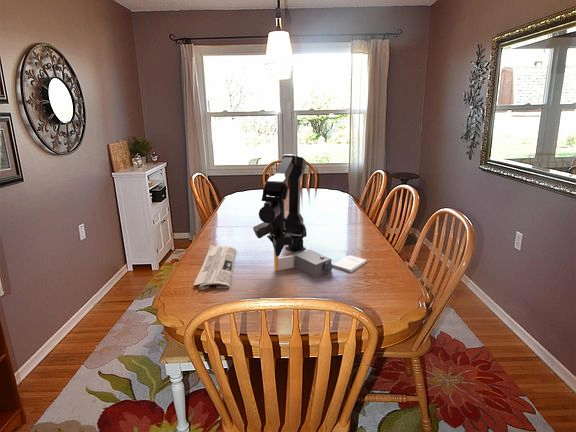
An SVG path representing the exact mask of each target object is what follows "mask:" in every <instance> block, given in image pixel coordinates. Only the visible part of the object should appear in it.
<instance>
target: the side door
mask: <svg viewBox="0 0 576 432" xmlns="http://www.w3.org/2000/svg"><path fill="white" fill-rule="evenodd" d="M273 259H274V265H273V266H274V267H273V268H274V271H275V272H279V271H283V270H287V269H288V270H289V269H294V268H296V267H295V254H292V255H286V256H281V257H280V256H276V254H275V250H274V249H273Z"/></svg>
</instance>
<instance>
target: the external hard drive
mask: <svg viewBox="0 0 576 432" xmlns="http://www.w3.org/2000/svg"><path fill="white" fill-rule="evenodd" d="M367 261H368V260H367V259H365V258H362V257H359V256H355V255H351V254H349V255H347V256H346V257H344V258H342V259H340V260H338V261H336V262H335V263H333V264H332V269H333V268H334V269H337V270H340V271H343V272H347V273H353V272H354V271H355V270H357V269H359V268H361V267H362V266H363V265H364V264H366V263H368V262H367Z"/></svg>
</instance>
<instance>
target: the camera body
mask: <svg viewBox="0 0 576 432" xmlns="http://www.w3.org/2000/svg"><path fill="white" fill-rule="evenodd" d="M294 255H295V268H296V269H298V270H299V271H302V272H304V273H306V274H308V275H309V276H312V277H314V278H317V277H320V276H322V275H326V274H327V273H330V272H332V270H333V267H332V265H333V264H332V258H330V257H328V256H327V255H326V256H325V255H324V254H321V253H319V252H316V251H314V250H312V249H308V250H305V251H302V252H299V253H296V254H294Z"/></svg>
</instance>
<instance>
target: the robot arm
mask: <svg viewBox="0 0 576 432" xmlns="http://www.w3.org/2000/svg"><path fill="white" fill-rule="evenodd" d="M306 168H307V160H306V159H305V158H304V156H303V157H302V156H301V157H300V156H298V155H296V154H289V153H287V154H286V153H285V154H282V158H281V161H280V164H279V165H278V168H277V170H276V172H275V174H274V175H272V176H270V177H268V179H267V180H266V182H265V183H264V187H263V192H262V195H261V196H262V197H261V202H264V203H263V206H262V207H261V208H260V209H259V211H258V217H259V219H260V221H261V223H258V224H257V225H255V226H253V227H252V229H253V232H254V235H255V237H257V239H262V238H263V237H265V236H266V237H267V239H268V240H269V241H270V242H271V243H272V246H273V251H274V250H275V254H276V256H278V257H280V255H281V254H282V252H283V249H284V247H285V249H286V250H288V251H291V252H292V253H297V252H300V251H303V250H306V247H305V246H304V238H306V237H307V234H308V233H307V228H306V225H305V223H304V218H303V216H302V215H301V178H302V177H303V175H304V174H305V172H306V171H305V169H306ZM288 180H289V181H288ZM288 182H289V184H288ZM287 197H288V214H287V216H285V201H286V200H287Z"/></svg>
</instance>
